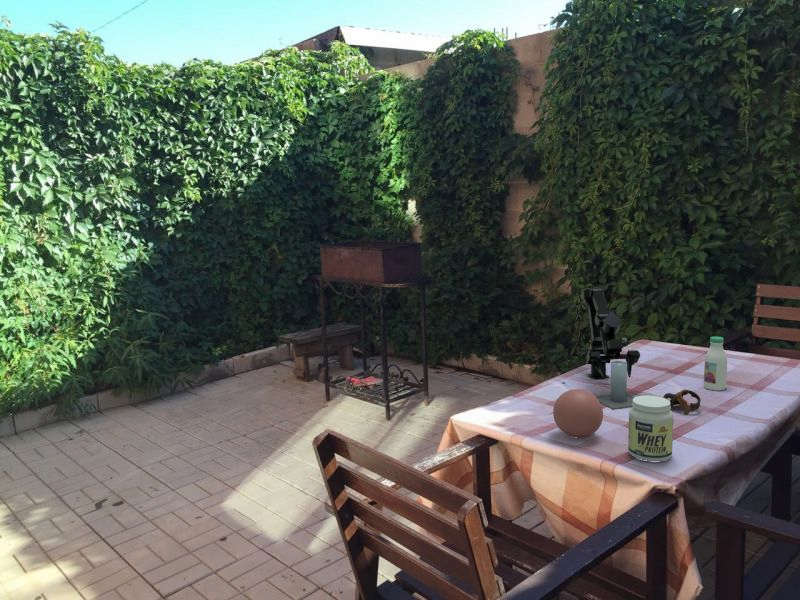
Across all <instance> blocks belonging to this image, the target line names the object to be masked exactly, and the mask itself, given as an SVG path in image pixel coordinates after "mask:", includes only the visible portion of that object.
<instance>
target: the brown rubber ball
mask: <svg viewBox="0 0 800 600" xmlns="http://www.w3.org/2000/svg"><path fill="white" fill-rule="evenodd" d="M552 416H553V420H554V422H555V424H556V426H557V428H558V429H559V430H560V431H561V432H562V433H564V434H565V435H567V436H568V437H570V438H571V437H572V438H574V437H577V438H576V439H581V438H582V439H584V438H587V437H588V438H589V437H590V436H592V435H593V434H595V433H596V432H597V431H598V430H599V429H600V427H601V425H602V424H603V419H604V410H603V407H602V404H601V403H600V402H599V400H598V399H597V398H596V397H595V395H594V394H593V393H592V392H589V391H587V390H584V389H582V388H581V389H579V388H575V389H570V390H567V391H565V392H563V393H562V394H560V395H559V396H558V398H557V399H556V400H555V402H554V405H553V410H552Z"/></svg>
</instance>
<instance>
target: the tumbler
mask: <svg viewBox="0 0 800 600" xmlns="http://www.w3.org/2000/svg"><path fill="white" fill-rule="evenodd" d="M627 387H628V373H627V362H625V361H621V360H616V361H610V394H611V401H613V402H626V401H627V394H628V393H627V392H628V391H627V390H628V388H627Z"/></svg>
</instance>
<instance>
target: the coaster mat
mask: <svg viewBox="0 0 800 600" xmlns="http://www.w3.org/2000/svg"><path fill="white" fill-rule="evenodd" d="M594 396H595V395H594ZM595 397H596V398H597V399H598V400H599V402H600V404H601V403H602V404H601V405H603V406H605V407H606V408H609V409H610V408H611V410H620V409H627V408H632V407H633V406H632V403H633V398H635V397H636V396H633V395H631V394H629V393H627V401H626V402H613V401H611V393H609V394H601V395H596V396H595Z"/></svg>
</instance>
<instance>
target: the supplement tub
mask: <svg viewBox="0 0 800 600" xmlns="http://www.w3.org/2000/svg"><path fill="white" fill-rule="evenodd" d="M634 397H635V398H633V403H632V406H633V407H630V409H629V410H628V438H627V439H628V442H627V443H628V444H627V445H628V446H627V450H628V451H627V452H628V454H629V455H630V454H631V455H632V456H634V457H636V458H638V459H642V460H647V461H665V460H667V461H669V460H670V459H671V457H672V455H673V441H674V440H673V439H674V438H673V437H674V413H673V412H672V410H671V409H672V408H671V406H670V400H669V399H668V400H667V399H665V398H663V396H662V397H661V396H657V395H639V396H634ZM631 455H630V456H631ZM632 456H631V457H632ZM634 457H633V458H634ZM668 459H669V460H668ZM665 462H666V461H665Z"/></svg>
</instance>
